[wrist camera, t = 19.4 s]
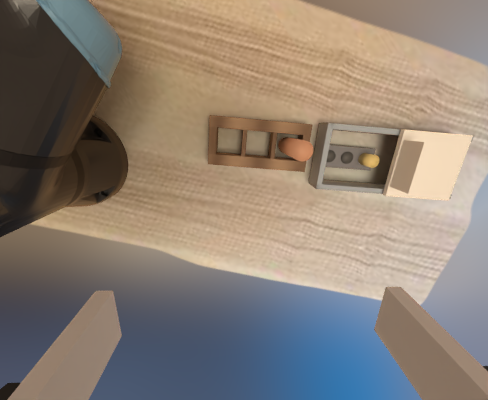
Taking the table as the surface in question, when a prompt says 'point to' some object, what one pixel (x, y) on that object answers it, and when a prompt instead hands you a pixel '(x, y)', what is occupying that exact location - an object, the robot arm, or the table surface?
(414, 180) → the lid
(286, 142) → the pin
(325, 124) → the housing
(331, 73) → the table surface
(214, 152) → the wooden compartment rack
